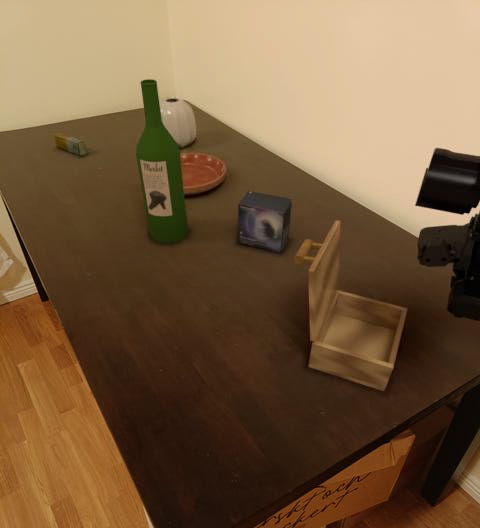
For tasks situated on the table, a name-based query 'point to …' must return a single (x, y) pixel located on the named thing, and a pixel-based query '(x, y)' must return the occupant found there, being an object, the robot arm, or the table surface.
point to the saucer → (201, 172)
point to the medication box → (70, 144)
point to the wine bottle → (160, 173)
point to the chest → (359, 340)
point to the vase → (178, 120)
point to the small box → (264, 221)
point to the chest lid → (321, 276)
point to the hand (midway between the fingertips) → (457, 315)
